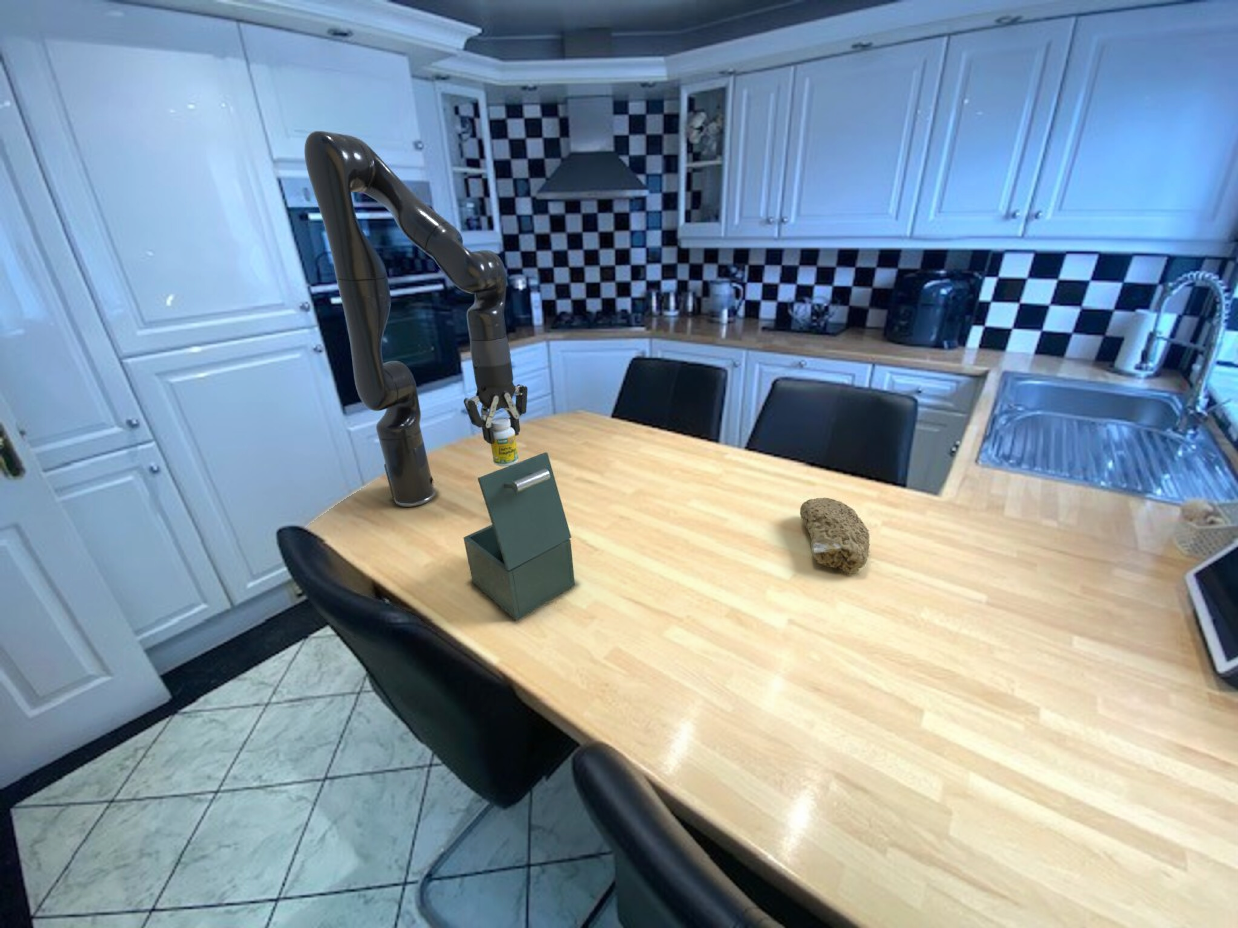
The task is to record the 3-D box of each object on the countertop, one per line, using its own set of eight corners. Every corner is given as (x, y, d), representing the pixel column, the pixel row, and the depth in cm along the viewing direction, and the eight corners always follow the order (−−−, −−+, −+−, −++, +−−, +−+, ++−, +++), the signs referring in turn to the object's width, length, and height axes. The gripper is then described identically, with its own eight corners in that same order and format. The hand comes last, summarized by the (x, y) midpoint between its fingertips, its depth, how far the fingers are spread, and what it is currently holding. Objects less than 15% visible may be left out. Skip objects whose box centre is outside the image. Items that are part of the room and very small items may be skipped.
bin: (472, 581, 93) (463, 537, 89) (529, 552, 101) (523, 510, 97) (516, 620, 84) (507, 572, 79) (575, 584, 91) (570, 539, 87)
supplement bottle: (512, 454, 113) (507, 414, 109) (522, 462, 109) (517, 421, 105) (489, 460, 111) (483, 419, 106) (499, 469, 107) (492, 426, 102)
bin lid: (477, 478, 76) (492, 479, 72) (545, 452, 84) (562, 452, 80) (506, 569, 80) (523, 575, 76) (569, 537, 87) (587, 540, 83)
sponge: (870, 584, 90) (871, 511, 104) (868, 552, 86) (869, 481, 100) (793, 578, 96) (804, 509, 110) (788, 548, 92) (800, 481, 106)
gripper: (512, 350, 107) (521, 425, 114) (449, 364, 98) (463, 444, 106) (532, 356, 102) (540, 433, 109) (468, 370, 93) (481, 454, 101)
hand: (502, 438), depth 108 cm, fingers closed on supplement bottle, 5 cm apart
